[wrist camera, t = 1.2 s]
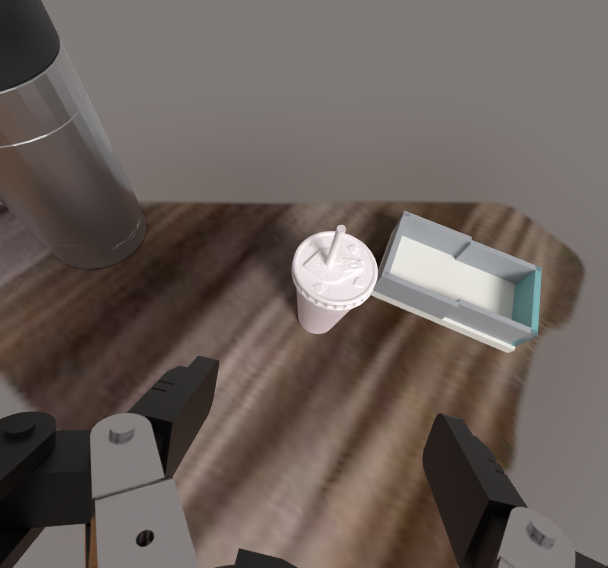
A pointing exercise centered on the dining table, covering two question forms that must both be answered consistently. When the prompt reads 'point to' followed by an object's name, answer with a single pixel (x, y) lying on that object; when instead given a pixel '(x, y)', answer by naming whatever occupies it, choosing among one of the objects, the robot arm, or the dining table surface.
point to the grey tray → (460, 283)
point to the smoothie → (331, 278)
